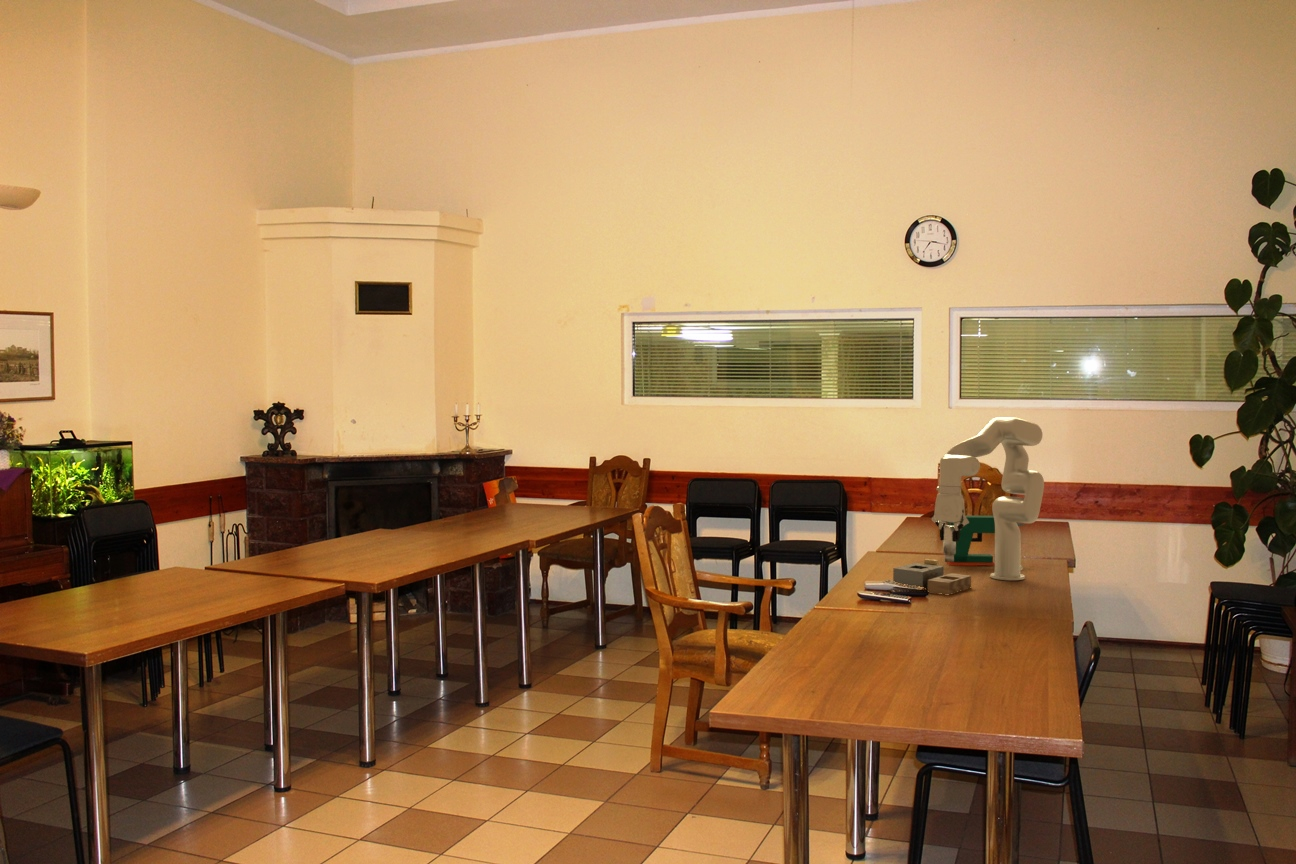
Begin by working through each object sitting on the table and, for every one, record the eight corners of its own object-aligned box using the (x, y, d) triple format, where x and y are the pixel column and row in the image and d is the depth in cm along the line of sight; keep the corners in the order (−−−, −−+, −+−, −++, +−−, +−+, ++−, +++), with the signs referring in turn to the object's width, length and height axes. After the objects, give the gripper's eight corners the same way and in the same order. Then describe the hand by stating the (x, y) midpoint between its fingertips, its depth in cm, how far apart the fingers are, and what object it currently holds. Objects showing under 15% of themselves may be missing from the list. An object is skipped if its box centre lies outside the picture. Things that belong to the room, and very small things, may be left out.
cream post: (946, 560, 390) (947, 525, 389) (957, 561, 387) (958, 526, 386) (940, 561, 386) (941, 526, 386) (952, 563, 383) (952, 527, 383)
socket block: (914, 580, 406) (914, 562, 405) (943, 584, 398) (943, 566, 397) (893, 586, 394) (893, 568, 394) (922, 591, 386) (922, 571, 385)
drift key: (926, 577, 405) (926, 558, 405) (938, 578, 402) (938, 560, 402) (916, 579, 400) (916, 561, 399) (928, 581, 396) (928, 562, 396)
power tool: (1023, 563, 445) (1024, 515, 444) (1028, 566, 438) (1028, 517, 437) (945, 562, 448) (946, 515, 447) (949, 565, 441) (949, 517, 440)
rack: (950, 585, 397) (950, 573, 396) (971, 588, 391) (971, 575, 391) (927, 592, 383) (927, 580, 383) (948, 595, 378) (948, 582, 378)
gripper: (924, 489, 388) (923, 539, 389) (967, 492, 377) (966, 544, 378) (933, 488, 394) (933, 537, 395) (976, 491, 383) (976, 541, 383)
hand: (949, 540), depth 386 cm, fingers closed on cream post, 4 cm apart
